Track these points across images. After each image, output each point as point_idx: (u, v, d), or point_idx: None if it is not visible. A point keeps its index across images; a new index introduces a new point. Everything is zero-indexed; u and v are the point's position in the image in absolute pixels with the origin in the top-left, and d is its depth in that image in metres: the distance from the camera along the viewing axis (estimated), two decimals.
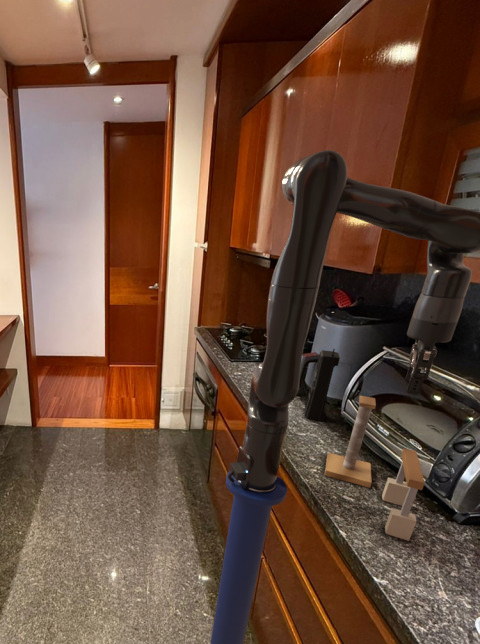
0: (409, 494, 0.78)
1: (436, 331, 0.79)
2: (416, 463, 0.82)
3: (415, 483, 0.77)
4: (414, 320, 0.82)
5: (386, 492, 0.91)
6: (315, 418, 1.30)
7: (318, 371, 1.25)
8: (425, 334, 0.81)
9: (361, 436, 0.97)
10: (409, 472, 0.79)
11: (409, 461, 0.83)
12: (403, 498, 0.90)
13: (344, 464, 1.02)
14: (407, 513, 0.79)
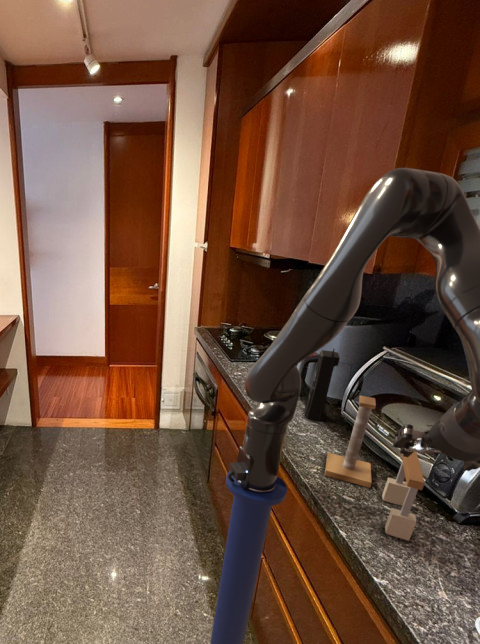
0: (409, 494, 0.78)
1: (435, 431, 0.60)
2: (416, 463, 0.82)
3: (415, 483, 0.77)
4: None
5: (386, 492, 0.91)
6: (315, 418, 1.30)
7: (318, 371, 1.25)
8: (435, 424, 0.61)
9: (361, 436, 0.97)
10: (409, 472, 0.79)
11: (409, 461, 0.83)
12: (403, 498, 0.90)
13: (344, 464, 1.02)
14: (407, 513, 0.79)
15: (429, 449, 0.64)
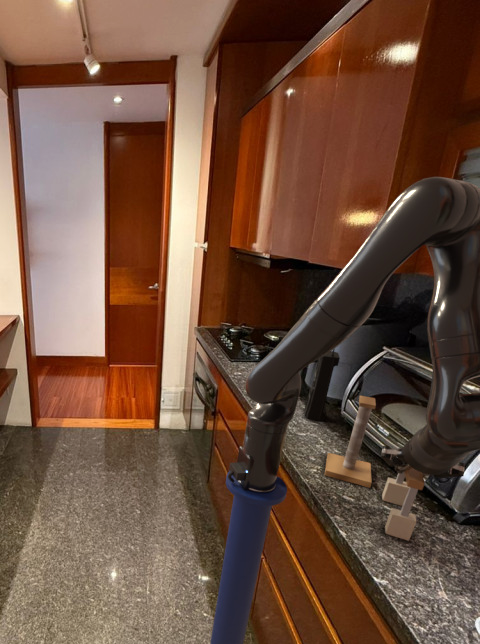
0: (409, 494, 0.78)
1: (406, 449, 0.74)
2: None
3: (415, 484, 0.77)
4: None
5: (386, 492, 0.91)
6: (315, 418, 1.30)
7: (318, 371, 1.25)
8: (406, 443, 0.75)
9: (361, 436, 0.97)
10: (409, 472, 0.79)
11: None
12: (403, 498, 0.90)
13: (344, 464, 1.02)
14: (407, 513, 0.79)
15: (406, 465, 0.78)
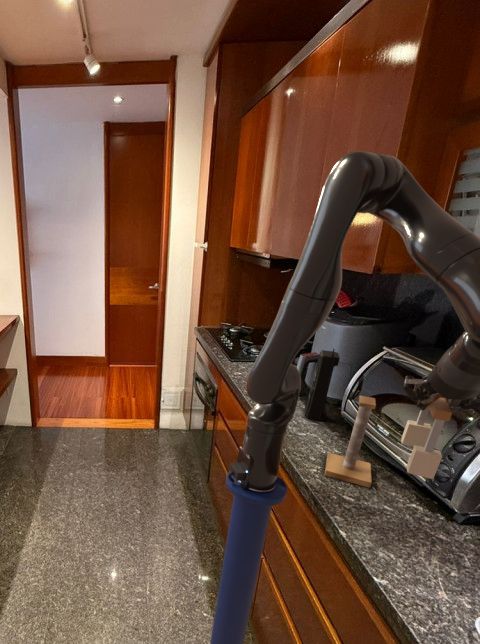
0: (435, 427, 0.72)
1: (433, 374, 0.68)
2: None
3: (441, 414, 0.71)
4: None
5: (406, 435, 0.85)
6: (315, 418, 1.30)
7: (318, 371, 1.25)
8: (433, 368, 0.69)
9: (361, 436, 0.97)
10: (434, 404, 0.73)
11: None
12: (424, 440, 0.84)
13: (344, 464, 1.02)
14: (432, 448, 0.73)
15: (431, 395, 0.72)
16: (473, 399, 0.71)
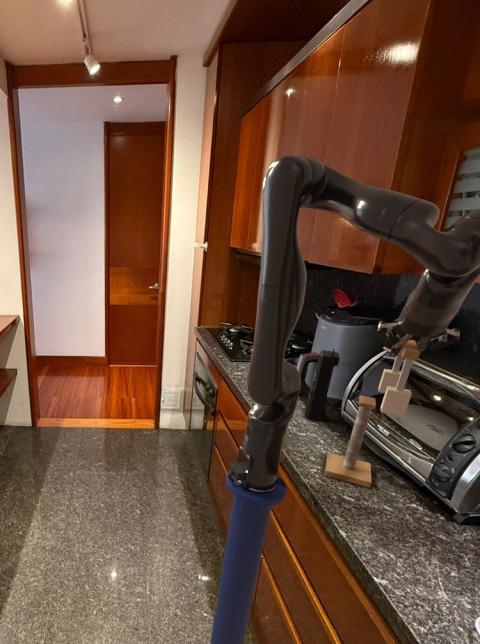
0: (405, 366, 0.79)
1: (401, 315, 0.75)
2: (412, 342, 0.83)
3: (410, 354, 0.77)
4: None
5: (382, 382, 0.92)
6: (315, 418, 1.30)
7: (318, 371, 1.25)
8: (402, 311, 0.76)
9: (361, 436, 0.97)
10: (405, 346, 0.80)
11: None
12: None
13: (344, 464, 1.02)
14: (402, 387, 0.80)
15: (401, 338, 0.79)
16: (439, 340, 0.77)
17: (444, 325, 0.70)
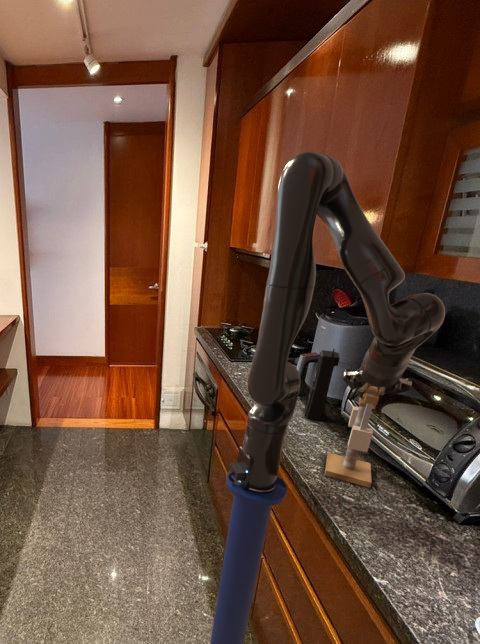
0: (366, 409, 0.90)
1: (361, 366, 0.86)
2: None
3: (371, 399, 0.89)
4: None
5: (351, 418, 1.03)
6: (315, 418, 1.30)
7: (318, 371, 1.25)
8: None
9: None
10: (367, 391, 0.91)
11: None
12: None
13: (344, 464, 1.02)
14: (365, 427, 0.91)
15: (363, 384, 0.90)
16: (396, 387, 0.88)
17: (396, 378, 0.81)
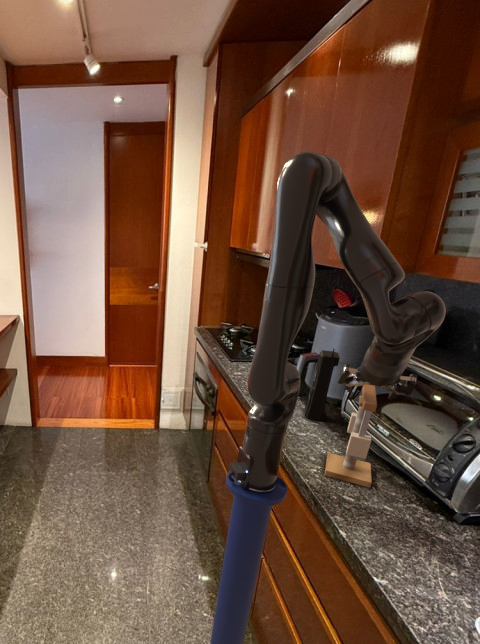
0: (364, 416, 0.90)
1: (361, 365, 0.86)
2: (372, 393, 0.94)
3: (369, 406, 0.89)
4: None
5: (350, 425, 1.03)
6: (315, 418, 1.30)
7: (318, 371, 1.25)
8: None
9: None
10: (365, 398, 0.92)
11: (366, 392, 0.95)
12: None
13: (344, 464, 1.02)
14: (363, 434, 0.92)
15: (361, 381, 0.90)
16: None
17: (396, 377, 0.81)
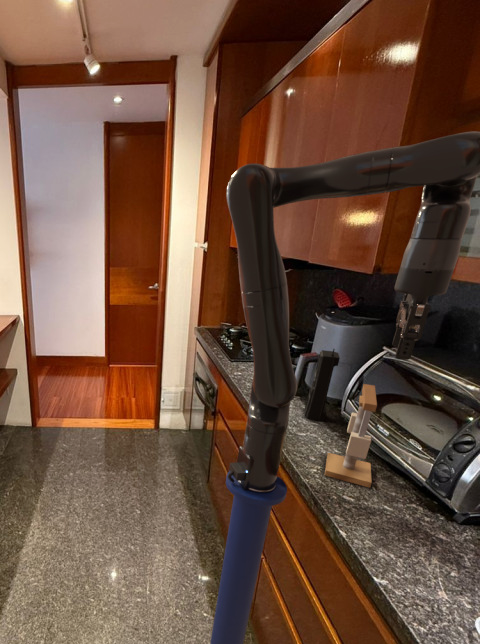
0: (364, 416, 0.90)
1: (430, 281, 0.66)
2: (372, 393, 0.94)
3: (369, 406, 0.89)
4: (403, 270, 0.69)
5: (350, 424, 1.03)
6: (315, 418, 1.30)
7: (318, 371, 1.25)
8: (417, 285, 0.68)
9: None
10: (365, 398, 0.92)
11: (366, 392, 0.95)
12: None
13: (344, 464, 1.02)
14: (363, 434, 0.92)
15: None
16: None
17: None
